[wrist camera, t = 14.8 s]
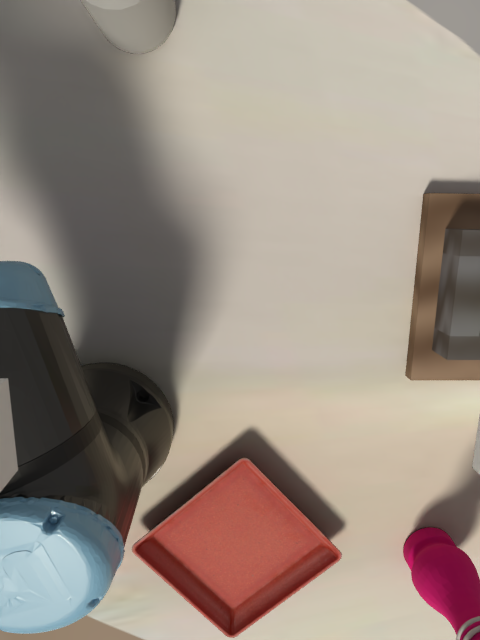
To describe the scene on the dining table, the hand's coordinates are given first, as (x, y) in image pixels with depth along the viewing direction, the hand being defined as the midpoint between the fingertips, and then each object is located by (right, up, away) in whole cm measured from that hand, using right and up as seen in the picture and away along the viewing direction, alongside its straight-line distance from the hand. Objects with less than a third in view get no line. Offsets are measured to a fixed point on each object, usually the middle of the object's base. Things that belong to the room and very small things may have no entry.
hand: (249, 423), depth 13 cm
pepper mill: (+23, -26, +45) cm, 57 cm away
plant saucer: (-1, -24, +44) cm, 50 cm away
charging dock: (+27, +6, +37) cm, 46 cm away
